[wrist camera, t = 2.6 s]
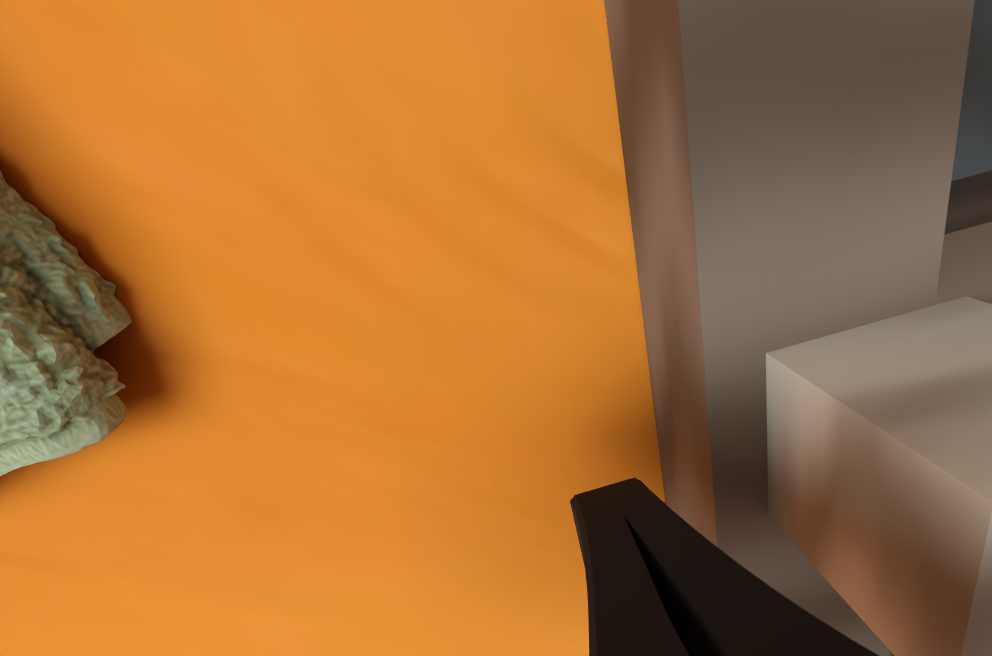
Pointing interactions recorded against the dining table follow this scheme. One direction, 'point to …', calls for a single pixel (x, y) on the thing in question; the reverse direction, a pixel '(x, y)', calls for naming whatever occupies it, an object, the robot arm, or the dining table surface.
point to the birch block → (892, 471)
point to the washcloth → (52, 341)
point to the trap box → (790, 218)
